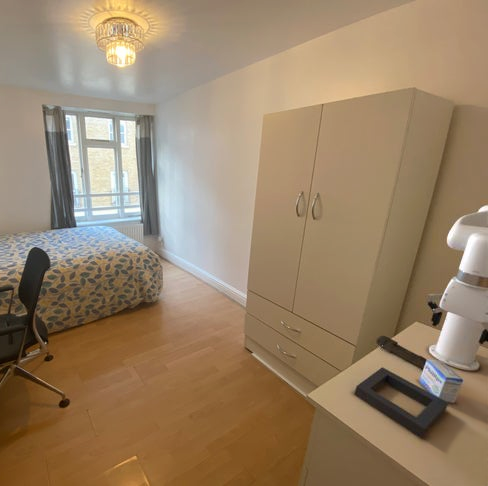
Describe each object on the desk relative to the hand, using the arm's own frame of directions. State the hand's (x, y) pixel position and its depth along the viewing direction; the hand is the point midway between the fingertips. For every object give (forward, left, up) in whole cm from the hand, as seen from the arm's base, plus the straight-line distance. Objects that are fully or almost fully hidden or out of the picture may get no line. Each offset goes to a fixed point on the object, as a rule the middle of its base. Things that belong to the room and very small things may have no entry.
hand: (457, 332), depth 79 cm
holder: (+16, -4, -21) cm, 26 cm away
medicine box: (+1, 0, -21) cm, 21 cm away
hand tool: (-8, -11, -21) cm, 25 cm away
